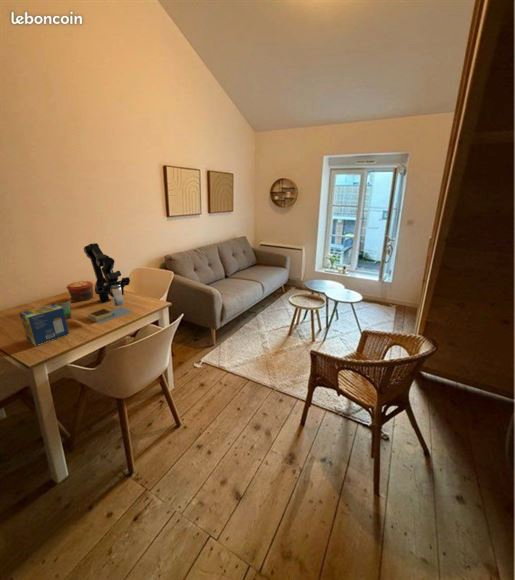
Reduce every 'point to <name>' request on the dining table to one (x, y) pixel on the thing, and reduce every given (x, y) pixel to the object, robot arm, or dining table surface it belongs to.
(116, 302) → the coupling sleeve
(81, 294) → the food container
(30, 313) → the protein box
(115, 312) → the board
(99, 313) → the tan square tray
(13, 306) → the dining table surface
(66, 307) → the food container
